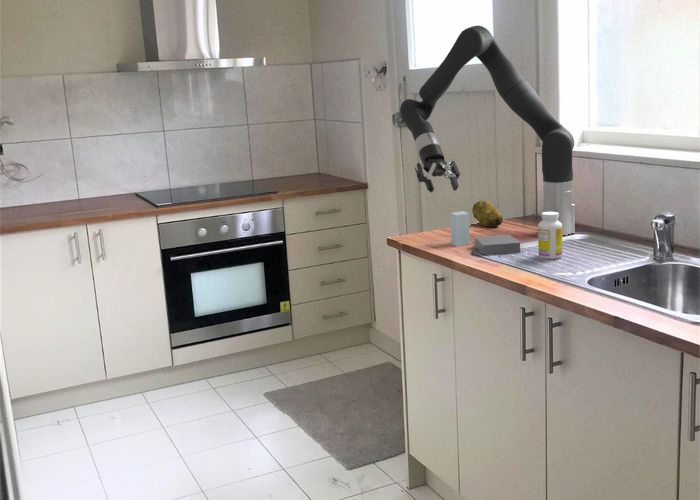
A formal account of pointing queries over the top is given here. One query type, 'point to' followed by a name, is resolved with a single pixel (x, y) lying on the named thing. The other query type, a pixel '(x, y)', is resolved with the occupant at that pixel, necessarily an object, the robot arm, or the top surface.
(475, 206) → the potato
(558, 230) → the supplement bottle
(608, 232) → the top surface
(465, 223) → the block
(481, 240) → the block
